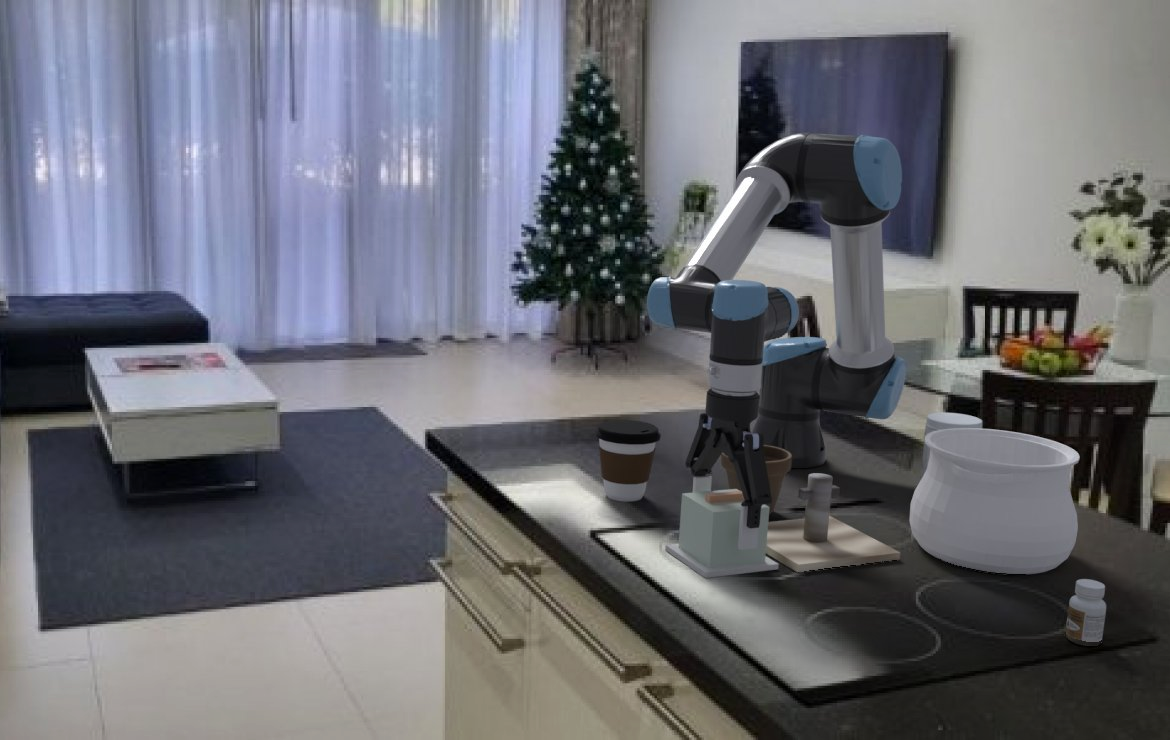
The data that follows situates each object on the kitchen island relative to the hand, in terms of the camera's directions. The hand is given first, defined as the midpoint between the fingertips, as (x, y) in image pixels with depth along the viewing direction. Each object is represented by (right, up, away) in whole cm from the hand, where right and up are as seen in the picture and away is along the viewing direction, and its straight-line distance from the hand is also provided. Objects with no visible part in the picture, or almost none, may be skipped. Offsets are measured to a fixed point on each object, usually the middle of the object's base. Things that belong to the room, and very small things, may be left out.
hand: (722, 533), depth 186 cm
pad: (0, -4, +1) cm, 4 cm away
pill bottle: (+44, -11, -22) cm, 50 cm away
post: (+15, -3, +9) cm, 17 cm away
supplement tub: (+43, +1, +37) cm, 56 cm away
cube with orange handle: (0, -3, +1) cm, 3 cm away
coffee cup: (-13, +2, +29) cm, 32 cm away
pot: (+42, -4, +10) cm, 43 cm away
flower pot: (+7, 0, +25) cm, 26 cm away
